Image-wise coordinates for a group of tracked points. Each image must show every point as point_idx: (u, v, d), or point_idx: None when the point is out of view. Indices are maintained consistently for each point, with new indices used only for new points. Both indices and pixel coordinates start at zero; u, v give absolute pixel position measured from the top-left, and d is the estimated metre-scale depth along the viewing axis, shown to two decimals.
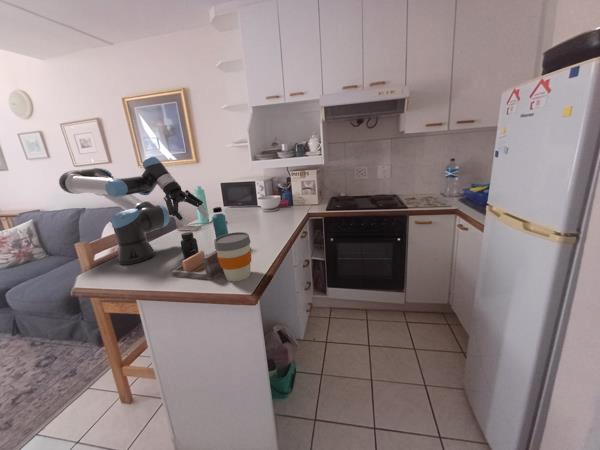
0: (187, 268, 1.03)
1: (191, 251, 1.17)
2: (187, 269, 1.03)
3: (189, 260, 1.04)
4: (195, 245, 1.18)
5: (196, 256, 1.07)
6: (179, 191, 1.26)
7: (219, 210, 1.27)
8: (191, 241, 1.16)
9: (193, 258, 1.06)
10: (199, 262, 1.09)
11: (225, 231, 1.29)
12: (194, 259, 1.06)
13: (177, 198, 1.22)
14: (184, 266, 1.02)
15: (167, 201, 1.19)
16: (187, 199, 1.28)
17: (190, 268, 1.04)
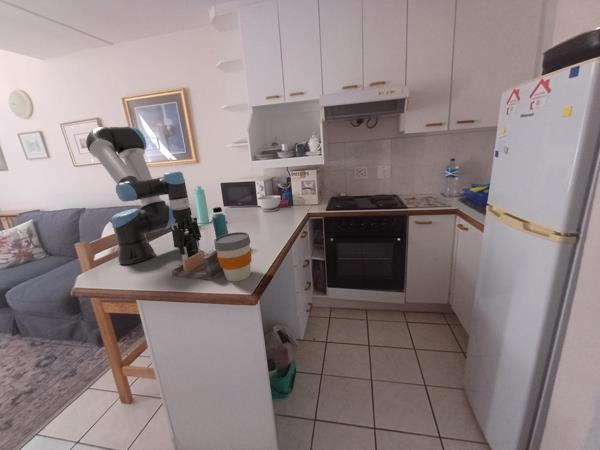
0: (187, 268, 1.03)
1: (191, 251, 1.17)
2: (187, 269, 1.03)
3: (189, 260, 1.04)
4: (195, 245, 1.18)
5: (196, 256, 1.07)
6: (188, 216, 1.17)
7: (219, 210, 1.27)
8: (191, 241, 1.16)
9: (193, 258, 1.06)
10: (199, 262, 1.09)
11: (225, 231, 1.29)
12: (194, 259, 1.06)
13: (184, 229, 1.14)
14: (184, 266, 1.02)
15: (174, 232, 1.11)
16: (189, 228, 1.19)
17: (190, 268, 1.04)
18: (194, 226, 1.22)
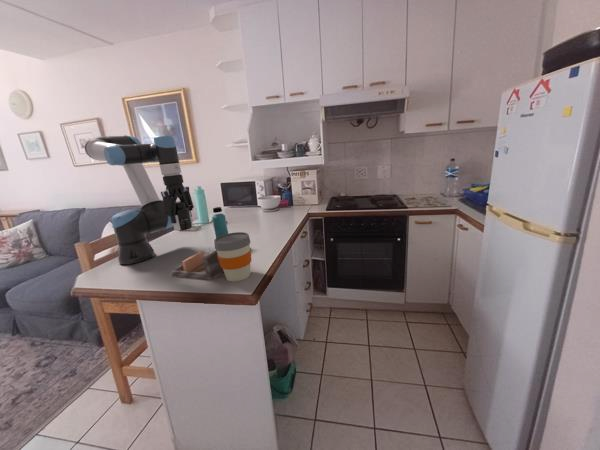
0: (187, 268, 1.03)
1: (183, 220, 1.12)
2: (187, 269, 1.03)
3: (189, 260, 1.04)
4: (187, 214, 1.14)
5: (196, 256, 1.07)
6: (180, 184, 1.13)
7: (219, 210, 1.27)
8: (183, 210, 1.12)
9: (193, 258, 1.06)
10: (199, 262, 1.09)
11: (225, 231, 1.29)
12: (194, 259, 1.06)
13: (176, 196, 1.10)
14: (184, 266, 1.02)
15: (165, 199, 1.07)
16: (181, 197, 1.14)
17: (190, 268, 1.04)
18: (186, 195, 1.17)
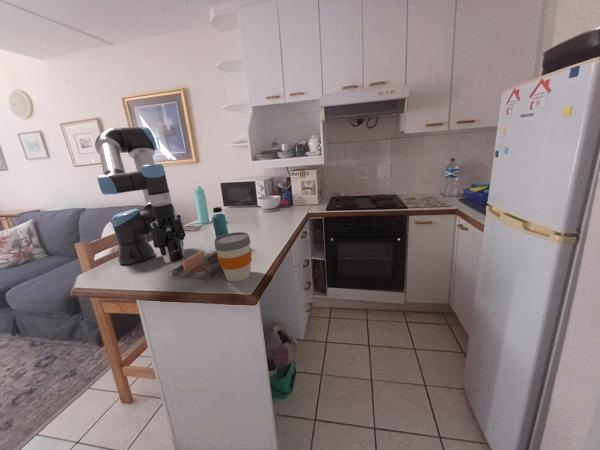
0: (187, 268, 1.03)
1: (174, 252, 1.06)
2: (187, 269, 1.03)
3: (189, 260, 1.04)
4: (178, 245, 1.08)
5: (196, 256, 1.07)
6: (170, 213, 1.07)
7: (219, 210, 1.27)
8: (173, 241, 1.06)
9: (193, 258, 1.06)
10: (199, 262, 1.09)
11: (225, 231, 1.29)
12: (194, 259, 1.06)
13: (165, 227, 1.04)
14: (184, 266, 1.02)
15: (153, 231, 1.01)
16: (172, 227, 1.08)
17: (190, 268, 1.04)
18: (177, 224, 1.12)
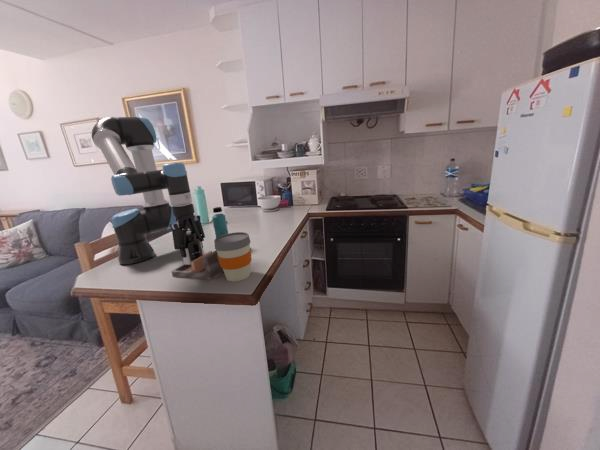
0: (196, 268, 1.01)
1: (194, 254, 1.03)
2: (196, 270, 1.01)
3: (198, 261, 1.02)
4: (198, 247, 1.04)
5: None
6: (190, 214, 1.03)
7: (219, 210, 1.27)
8: (194, 242, 1.02)
9: (202, 259, 1.04)
10: None
11: (225, 231, 1.29)
12: None
13: (186, 228, 1.00)
14: (193, 267, 1.00)
15: (174, 232, 0.97)
16: (192, 228, 1.05)
17: (199, 269, 1.03)
18: (197, 225, 1.08)
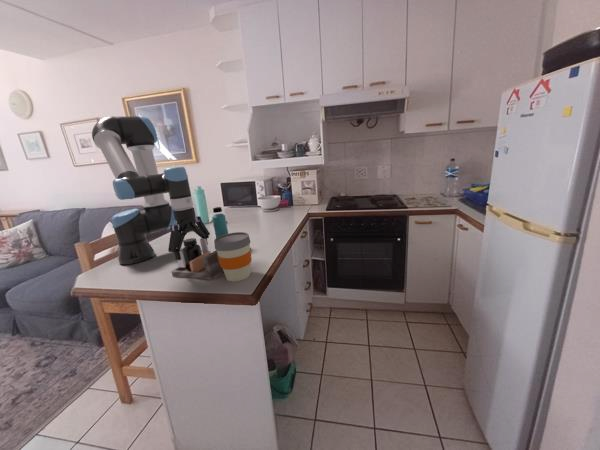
0: (194, 268, 1.01)
1: None
2: (194, 270, 1.01)
3: (196, 260, 1.02)
4: (199, 253, 1.05)
5: (203, 257, 1.06)
6: (191, 219, 1.03)
7: (219, 210, 1.27)
8: (194, 249, 1.04)
9: (200, 258, 1.04)
10: None
11: (225, 231, 1.29)
12: (201, 260, 1.05)
13: (185, 231, 1.00)
14: (191, 267, 1.01)
15: (173, 233, 0.96)
16: (195, 229, 1.06)
17: (197, 269, 1.03)
18: (200, 225, 1.09)
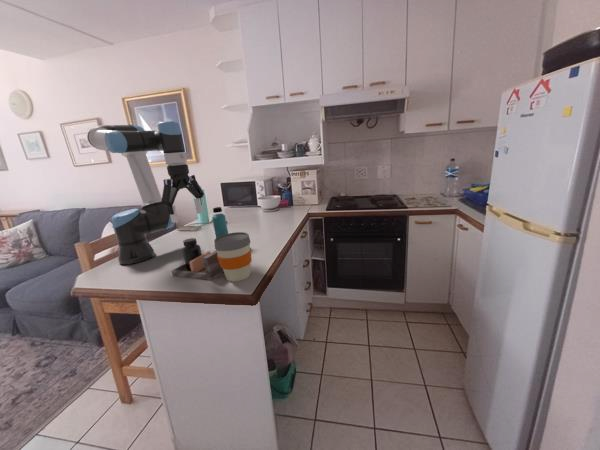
0: (194, 268, 1.01)
1: None
2: (194, 270, 1.01)
3: (196, 260, 1.02)
4: (199, 253, 1.05)
5: (203, 257, 1.06)
6: (185, 176, 1.05)
7: (219, 210, 1.27)
8: (194, 249, 1.04)
9: (200, 258, 1.04)
10: None
11: (225, 231, 1.29)
12: (201, 260, 1.05)
13: (179, 187, 1.01)
14: (191, 267, 1.01)
15: (166, 187, 0.98)
16: (189, 187, 1.07)
17: (197, 269, 1.03)
18: (194, 184, 1.10)
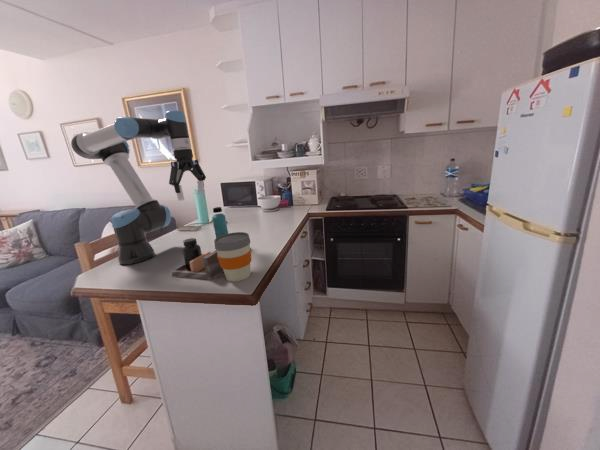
0: (194, 268, 1.01)
1: None
2: (194, 270, 1.01)
3: (196, 260, 1.02)
4: (199, 253, 1.05)
5: (203, 257, 1.06)
6: (189, 159, 1.18)
7: (219, 210, 1.27)
8: (194, 249, 1.04)
9: (200, 258, 1.04)
10: None
11: (225, 231, 1.29)
12: (201, 260, 1.05)
13: (184, 169, 1.14)
14: (191, 267, 1.01)
15: (173, 168, 1.11)
16: (192, 170, 1.20)
17: (197, 269, 1.03)
18: (197, 168, 1.23)
